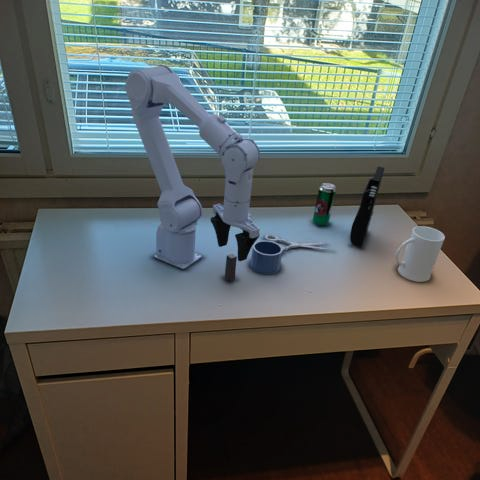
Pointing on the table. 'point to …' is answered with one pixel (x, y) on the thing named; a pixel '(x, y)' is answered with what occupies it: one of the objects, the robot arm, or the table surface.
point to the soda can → (324, 204)
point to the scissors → (292, 243)
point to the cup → (266, 257)
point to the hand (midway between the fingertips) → (232, 252)
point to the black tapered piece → (366, 209)
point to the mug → (420, 253)
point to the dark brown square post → (230, 267)
